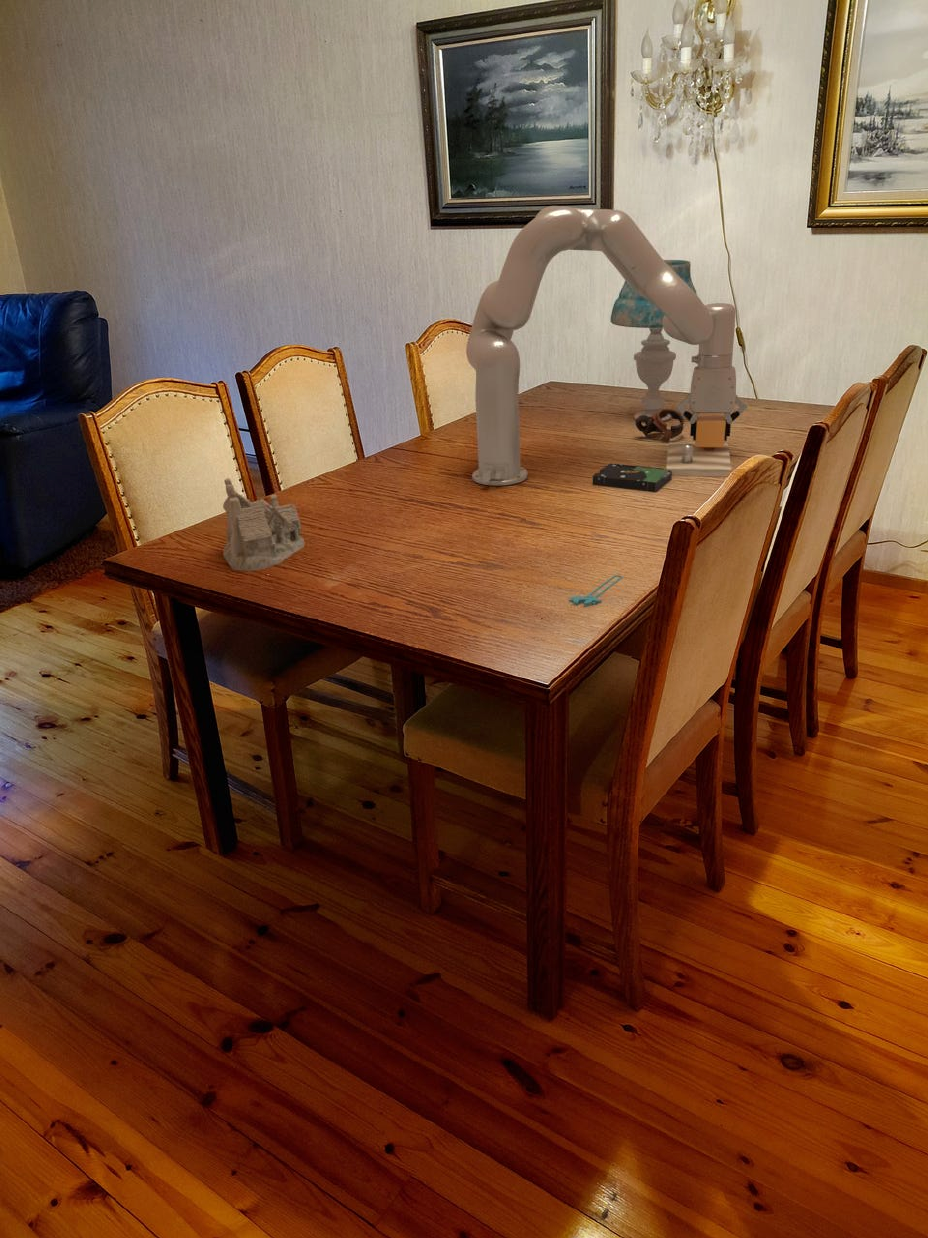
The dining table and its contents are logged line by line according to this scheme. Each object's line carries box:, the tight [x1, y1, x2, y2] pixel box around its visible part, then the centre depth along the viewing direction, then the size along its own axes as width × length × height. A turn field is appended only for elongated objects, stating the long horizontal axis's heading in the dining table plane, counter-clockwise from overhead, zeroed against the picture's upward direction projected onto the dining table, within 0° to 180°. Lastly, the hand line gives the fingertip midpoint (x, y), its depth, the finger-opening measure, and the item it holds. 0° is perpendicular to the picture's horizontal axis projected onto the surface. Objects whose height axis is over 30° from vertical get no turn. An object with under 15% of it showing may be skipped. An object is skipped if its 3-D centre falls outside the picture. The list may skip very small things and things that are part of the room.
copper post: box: [704, 447, 715, 451], centre depth 216 cm, size 2×2×4 cm
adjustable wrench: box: [568, 574, 623, 607], centre depth 151 cm, size 14×1×5 cm
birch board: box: [666, 442, 732, 478], centre depth 213 cm, size 22×14×2 cm, turn 167°
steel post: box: [682, 444, 694, 464], centre depth 207 cm, size 2×2×4 cm
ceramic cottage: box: [222, 478, 306, 572], centre depth 172 cm, size 16×16×15 cm
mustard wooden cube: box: [694, 414, 726, 447], centre depth 215 cm, size 6×6×6 cm
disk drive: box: [592, 463, 673, 493], centre depth 202 cm, size 10×3×15 cm
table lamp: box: [610, 259, 701, 422], centre depth 243 cm, size 24×24×40 cm
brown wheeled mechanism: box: [634, 408, 685, 443], centre depth 232 cm, size 12×10×8 cm
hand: (709, 438), depth 215 cm, fingers closed on mustard wooden cube, 6 cm apart
